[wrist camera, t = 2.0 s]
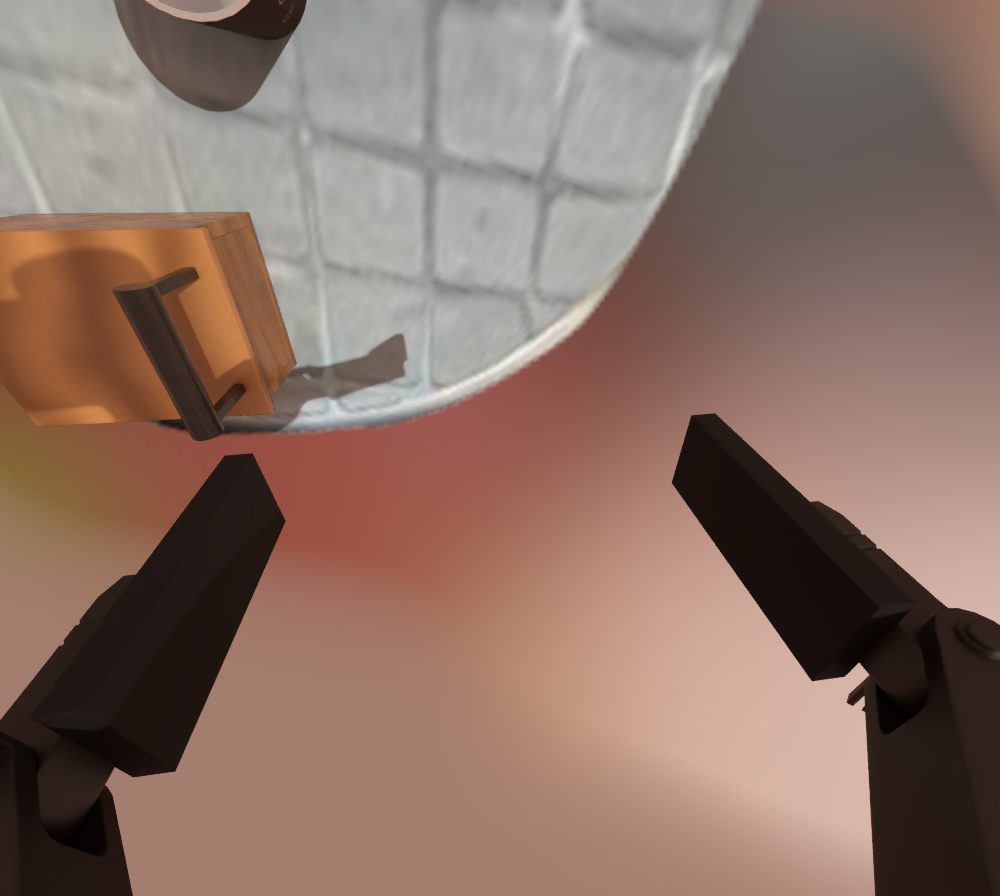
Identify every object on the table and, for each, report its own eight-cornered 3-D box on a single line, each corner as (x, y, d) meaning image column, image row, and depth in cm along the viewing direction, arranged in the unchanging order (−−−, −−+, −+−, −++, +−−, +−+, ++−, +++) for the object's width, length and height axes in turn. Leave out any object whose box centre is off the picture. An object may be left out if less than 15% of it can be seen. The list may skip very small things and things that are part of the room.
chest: (249, 211, 32) (192, 227, 24) (297, 363, 39) (263, 409, 32) (28, 213, 30) (-102, 230, 23) (122, 371, 38) (46, 420, 30)
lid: (207, 227, 24) (134, 247, 19) (275, 409, 32) (238, 463, 26) (-103, 231, 23) (-285, 254, 17) (45, 421, 30) (-48, 481, 25)
